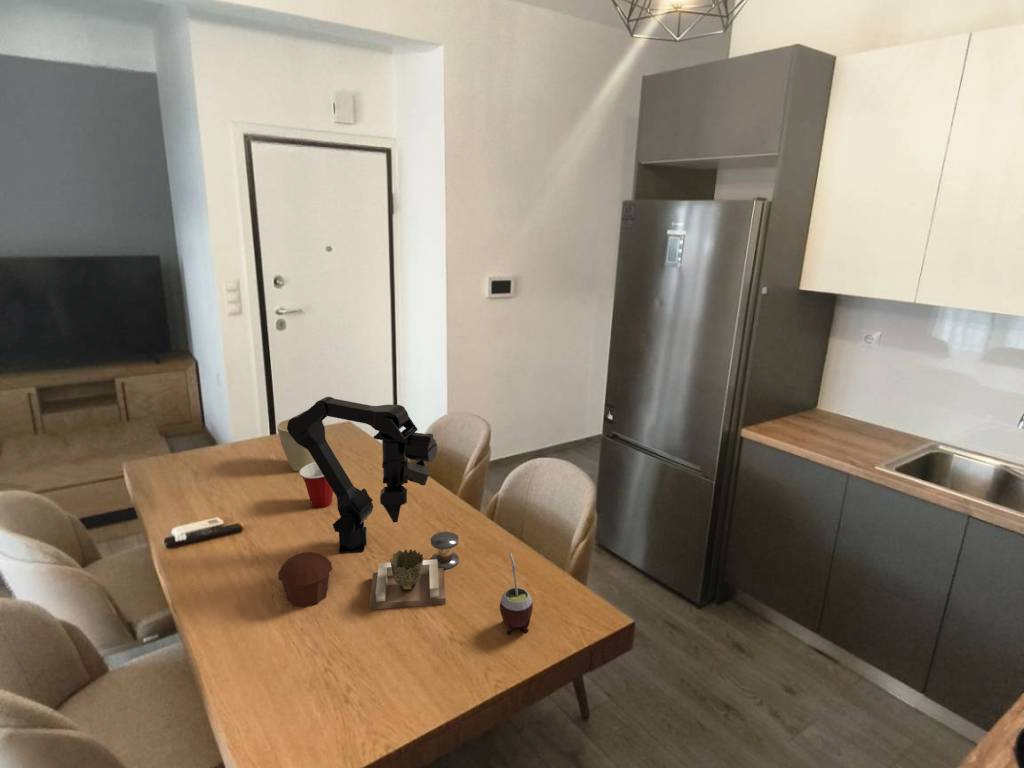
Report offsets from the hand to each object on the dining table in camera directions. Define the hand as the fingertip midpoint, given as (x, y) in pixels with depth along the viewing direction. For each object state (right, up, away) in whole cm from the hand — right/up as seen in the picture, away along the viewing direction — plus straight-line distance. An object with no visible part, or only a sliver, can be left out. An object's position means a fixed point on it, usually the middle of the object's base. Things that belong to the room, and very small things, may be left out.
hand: (396, 512), depth 149 cm
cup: (+5, -15, -13) cm, 20 cm away
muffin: (-18, -16, -14) cm, 28 cm away
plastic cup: (-28, -4, +28) cm, 40 cm away
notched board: (+5, -16, -11) cm, 20 cm away
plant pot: (-43, +4, +53) cm, 68 cm away
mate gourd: (+30, -20, -22) cm, 42 cm away
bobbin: (+12, -13, +1) cm, 18 cm away
